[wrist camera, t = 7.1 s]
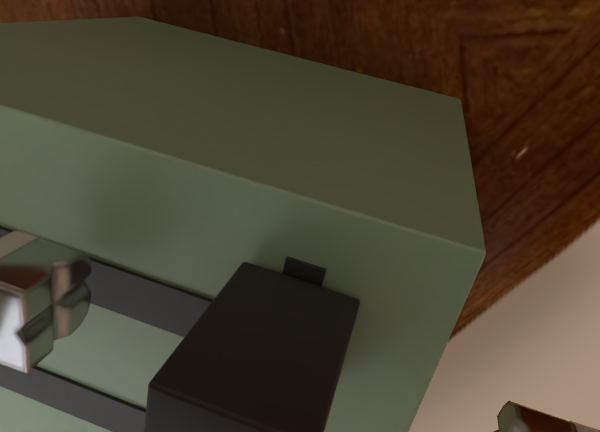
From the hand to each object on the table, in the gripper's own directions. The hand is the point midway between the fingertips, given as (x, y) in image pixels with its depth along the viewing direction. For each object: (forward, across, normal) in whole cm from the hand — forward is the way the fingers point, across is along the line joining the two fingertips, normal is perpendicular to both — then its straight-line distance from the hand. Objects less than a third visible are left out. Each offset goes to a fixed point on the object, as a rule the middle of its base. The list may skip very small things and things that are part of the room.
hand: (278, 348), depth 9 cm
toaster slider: (+1, 0, 0) cm, 1 cm away
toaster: (+16, +5, +3) cm, 17 cm away
